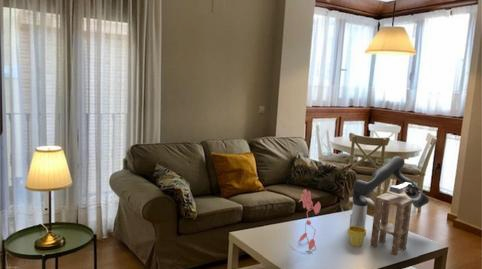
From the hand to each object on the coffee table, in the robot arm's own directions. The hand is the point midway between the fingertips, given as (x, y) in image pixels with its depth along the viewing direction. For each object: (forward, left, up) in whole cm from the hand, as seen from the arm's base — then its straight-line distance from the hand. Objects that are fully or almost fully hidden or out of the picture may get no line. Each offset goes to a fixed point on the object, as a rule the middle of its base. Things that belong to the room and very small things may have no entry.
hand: (405, 184), depth 240 cm
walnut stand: (0, -14, -37) cm, 40 cm away
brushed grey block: (0, -5, -3) cm, 5 cm away
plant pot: (-15, -26, -38) cm, 48 cm away
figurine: (-34, -55, -38) cm, 75 cm away
